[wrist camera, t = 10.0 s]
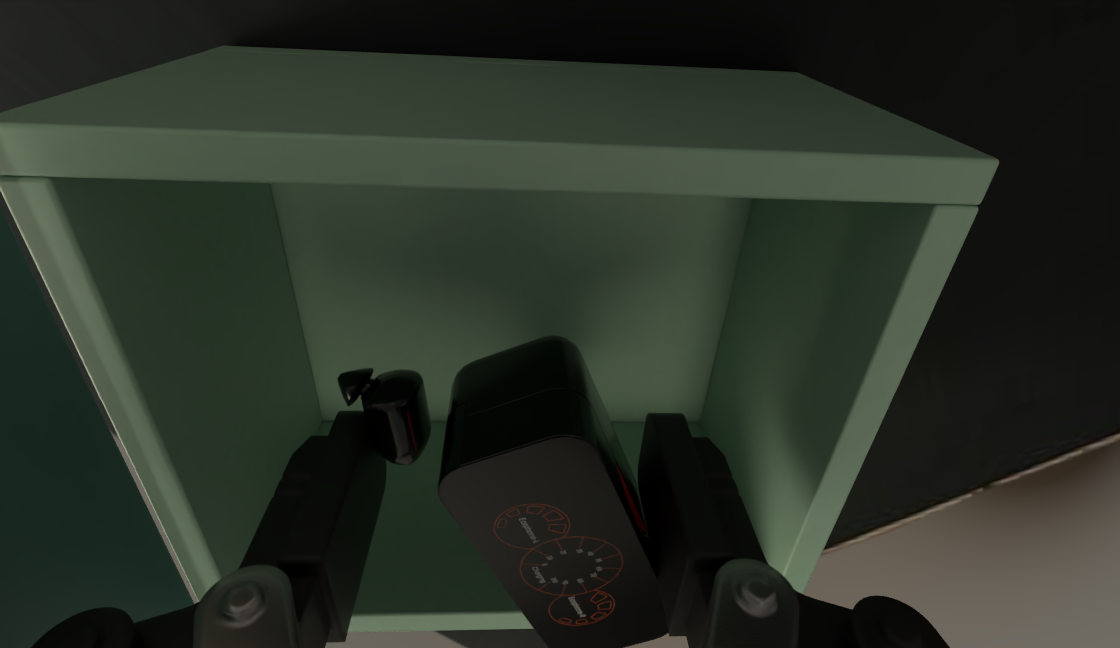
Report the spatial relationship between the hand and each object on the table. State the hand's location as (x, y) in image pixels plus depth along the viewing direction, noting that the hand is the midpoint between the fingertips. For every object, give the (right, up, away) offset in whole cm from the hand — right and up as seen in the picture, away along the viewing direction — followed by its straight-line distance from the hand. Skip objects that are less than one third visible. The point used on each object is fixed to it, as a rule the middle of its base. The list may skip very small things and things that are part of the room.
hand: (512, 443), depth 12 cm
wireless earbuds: (0, 0, +1) cm, 1 cm away
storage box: (0, +4, +7) cm, 8 cm away
